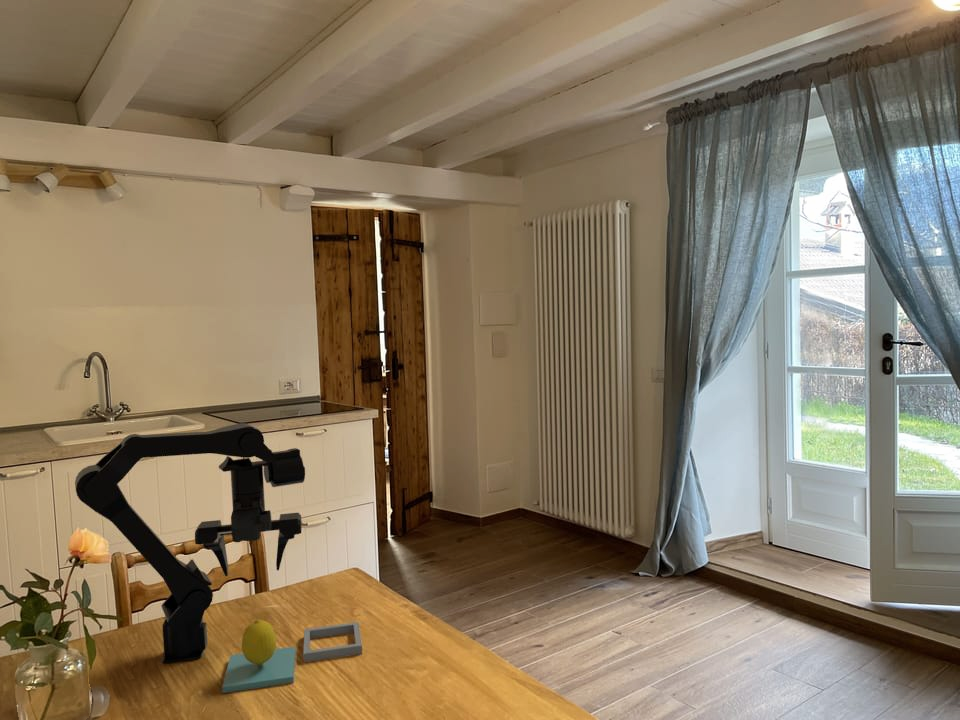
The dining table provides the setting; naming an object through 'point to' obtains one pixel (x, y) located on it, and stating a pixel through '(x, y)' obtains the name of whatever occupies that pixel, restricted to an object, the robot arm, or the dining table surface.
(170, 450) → the robot arm
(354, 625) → the holder
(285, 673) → the tile
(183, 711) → the dining table surface
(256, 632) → the lemon
